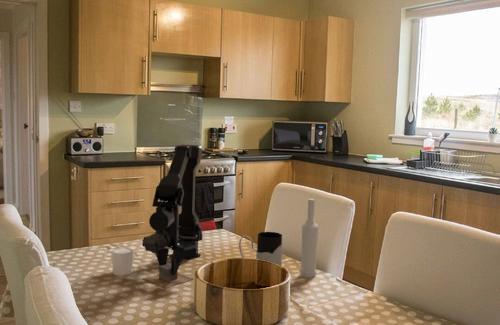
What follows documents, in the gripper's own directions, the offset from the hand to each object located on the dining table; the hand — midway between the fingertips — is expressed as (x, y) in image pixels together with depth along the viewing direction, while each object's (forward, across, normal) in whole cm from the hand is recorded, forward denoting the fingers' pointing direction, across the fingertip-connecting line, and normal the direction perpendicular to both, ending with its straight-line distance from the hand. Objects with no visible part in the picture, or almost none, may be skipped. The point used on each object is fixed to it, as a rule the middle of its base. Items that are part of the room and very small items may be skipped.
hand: (168, 273), depth 160 cm
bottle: (+2, +29, +34) cm, 45 cm away
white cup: (+2, -15, -6) cm, 16 cm away
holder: (+2, +21, +19) cm, 28 cm away
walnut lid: (+3, 0, 0) cm, 3 cm away
